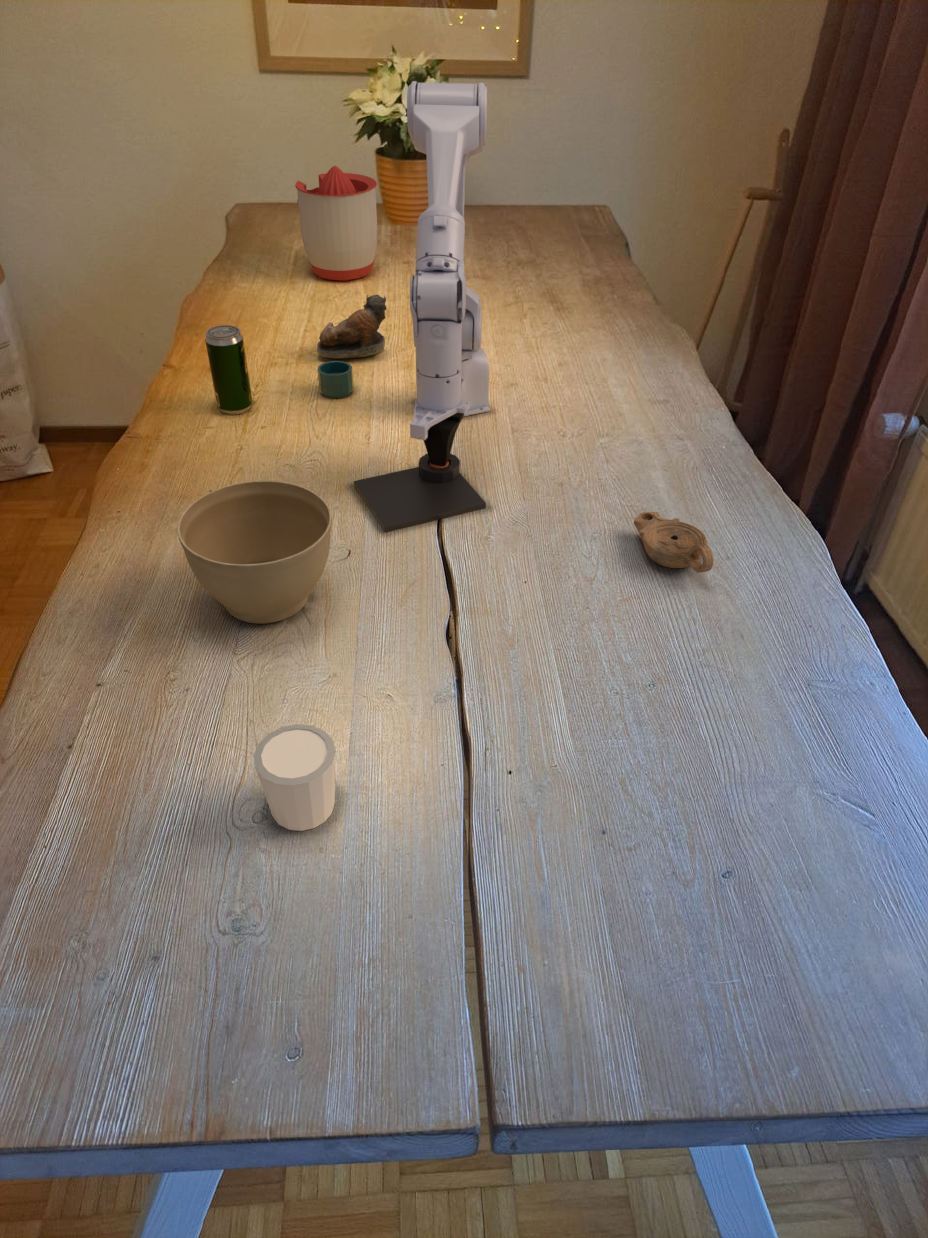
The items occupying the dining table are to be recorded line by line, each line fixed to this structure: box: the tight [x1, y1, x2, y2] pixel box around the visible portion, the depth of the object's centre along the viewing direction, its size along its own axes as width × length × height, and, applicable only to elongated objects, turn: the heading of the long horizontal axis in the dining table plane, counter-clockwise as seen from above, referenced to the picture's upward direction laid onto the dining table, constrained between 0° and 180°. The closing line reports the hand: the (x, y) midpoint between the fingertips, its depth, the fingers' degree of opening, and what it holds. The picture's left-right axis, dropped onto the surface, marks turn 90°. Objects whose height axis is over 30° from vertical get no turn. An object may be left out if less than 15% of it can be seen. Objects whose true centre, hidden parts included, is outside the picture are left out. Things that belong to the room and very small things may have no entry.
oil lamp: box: [633, 511, 714, 573], centre depth 109 cm, size 13×8×5 cm, turn 23°
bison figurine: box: [316, 294, 388, 359], centre depth 151 cm, size 12×7×10 cm, turn 98°
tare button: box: [430, 462, 449, 468], centre depth 123 cm, size 3×3×1 cm
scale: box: [352, 453, 487, 533], centre depth 120 cm, size 14×12×2 cm
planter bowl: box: [176, 479, 333, 624], centre depth 100 cm, size 16×16×11 cm
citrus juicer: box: [294, 165, 378, 282], centre depth 179 cm, size 16×17×20 cm
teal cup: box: [316, 360, 354, 399], centre depth 143 cm, size 5×5×4 cm
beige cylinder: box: [253, 723, 337, 832], centre depth 79 cm, size 7×7×7 cm
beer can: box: [204, 324, 253, 416], centre depth 136 cm, size 5×5×12 cm
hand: (439, 462), depth 123 cm, fingers closed, pressing on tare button
